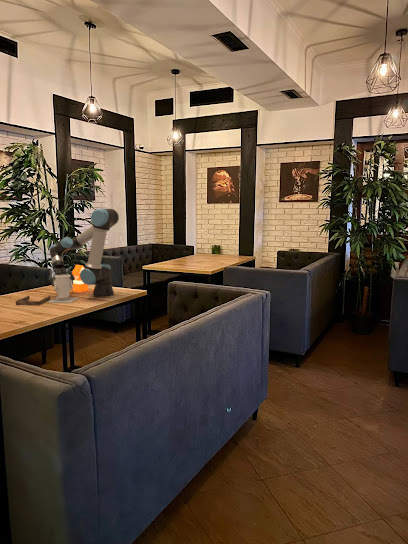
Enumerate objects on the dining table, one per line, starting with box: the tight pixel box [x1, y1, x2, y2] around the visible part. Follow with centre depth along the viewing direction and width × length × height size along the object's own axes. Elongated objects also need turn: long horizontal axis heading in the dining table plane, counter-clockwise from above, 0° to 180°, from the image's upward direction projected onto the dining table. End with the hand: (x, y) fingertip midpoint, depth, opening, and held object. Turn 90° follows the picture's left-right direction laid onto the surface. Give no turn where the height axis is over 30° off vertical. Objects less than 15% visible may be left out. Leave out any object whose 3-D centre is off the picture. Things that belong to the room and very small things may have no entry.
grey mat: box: [47, 296, 80, 304], centre depth 279 cm, size 16×16×1 cm
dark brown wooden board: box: [15, 295, 52, 306], centre depth 272 cm, size 16×17×2 cm
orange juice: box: [71, 264, 89, 293], centre depth 313 cm, size 8×9×20 cm
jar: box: [54, 273, 71, 298], centre depth 277 cm, size 11×10×15 cm
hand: (64, 288), depth 275 cm, fingers closed on jar, 10 cm apart
